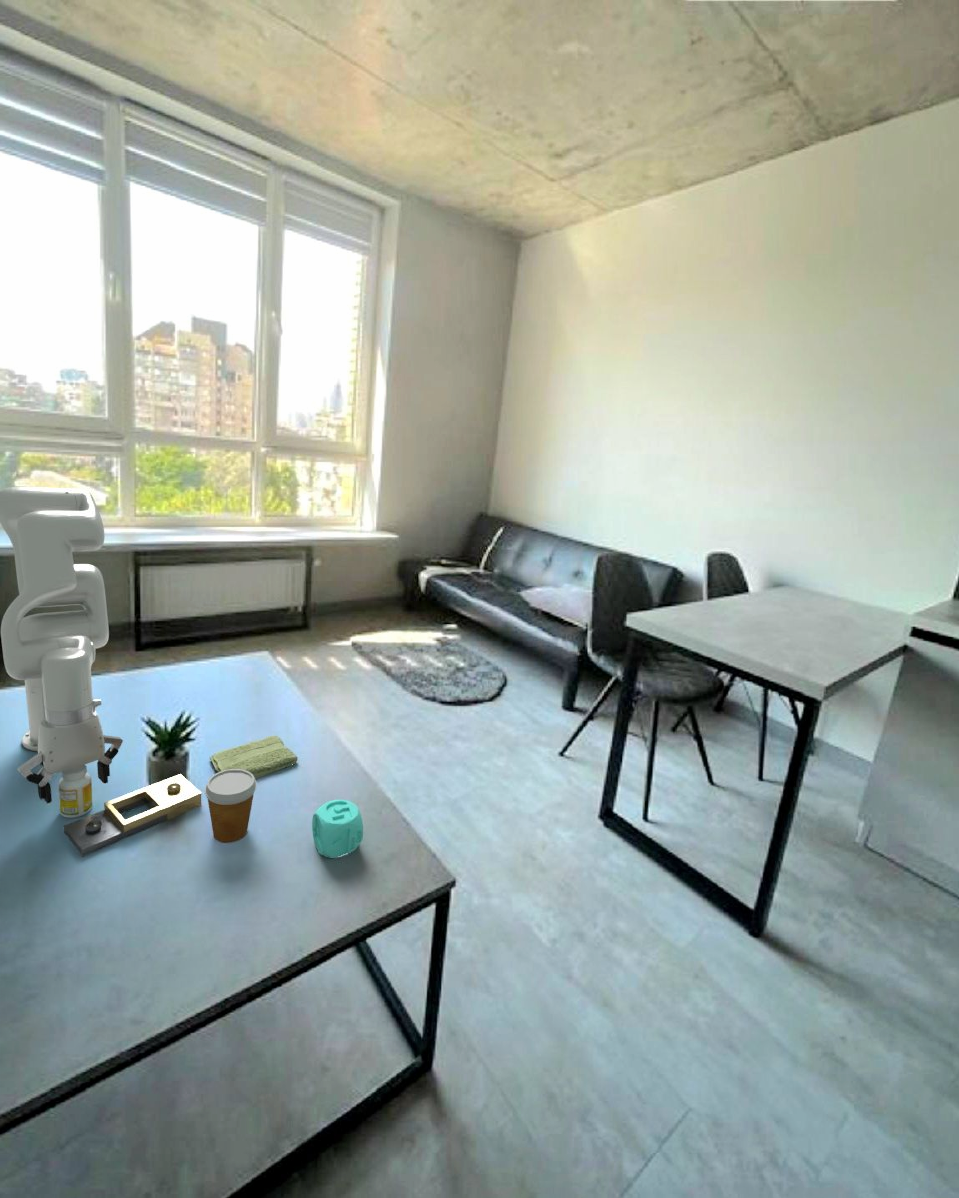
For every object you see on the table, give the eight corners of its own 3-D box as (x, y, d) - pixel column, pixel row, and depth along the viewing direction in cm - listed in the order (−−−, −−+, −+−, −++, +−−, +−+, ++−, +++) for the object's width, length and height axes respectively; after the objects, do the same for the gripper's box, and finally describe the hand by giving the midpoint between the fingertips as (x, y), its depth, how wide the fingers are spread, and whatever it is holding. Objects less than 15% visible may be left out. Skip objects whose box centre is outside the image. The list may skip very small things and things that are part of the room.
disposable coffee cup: (265, 826, 118) (267, 776, 115) (232, 855, 109) (233, 802, 106) (228, 811, 121) (229, 762, 117) (193, 838, 112) (192, 786, 109)
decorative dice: (322, 863, 110) (324, 828, 108) (310, 837, 117) (312, 804, 115) (361, 852, 115) (364, 818, 112) (348, 827, 121) (351, 795, 119)
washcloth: (206, 762, 137) (206, 750, 136) (277, 742, 149) (277, 731, 148) (226, 790, 128) (227, 777, 127) (300, 766, 140) (301, 755, 139)
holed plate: (64, 832, 109) (62, 814, 108) (180, 786, 126) (180, 770, 125) (82, 856, 104) (81, 838, 103) (201, 805, 121) (201, 789, 120)
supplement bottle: (65, 822, 112) (61, 780, 109) (56, 808, 115) (53, 767, 112) (96, 811, 116) (94, 770, 113) (87, 798, 119) (85, 758, 116)
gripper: (111, 693, 118) (115, 766, 122) (7, 718, 104) (15, 799, 109) (127, 705, 114) (131, 781, 118) (20, 734, 100) (29, 817, 105)
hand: (75, 789), depth 113 cm, fingers open, 9 cm apart
